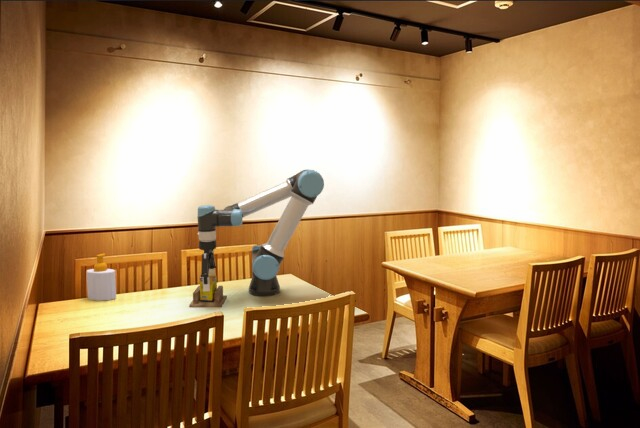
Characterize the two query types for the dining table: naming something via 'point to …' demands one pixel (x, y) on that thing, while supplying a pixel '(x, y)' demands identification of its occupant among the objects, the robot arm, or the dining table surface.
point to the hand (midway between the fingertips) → (209, 286)
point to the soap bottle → (101, 281)
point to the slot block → (216, 303)
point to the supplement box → (209, 295)
